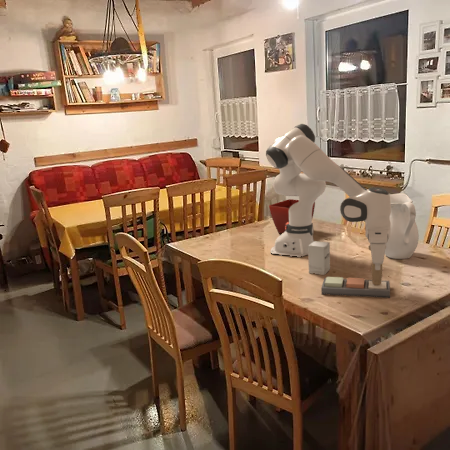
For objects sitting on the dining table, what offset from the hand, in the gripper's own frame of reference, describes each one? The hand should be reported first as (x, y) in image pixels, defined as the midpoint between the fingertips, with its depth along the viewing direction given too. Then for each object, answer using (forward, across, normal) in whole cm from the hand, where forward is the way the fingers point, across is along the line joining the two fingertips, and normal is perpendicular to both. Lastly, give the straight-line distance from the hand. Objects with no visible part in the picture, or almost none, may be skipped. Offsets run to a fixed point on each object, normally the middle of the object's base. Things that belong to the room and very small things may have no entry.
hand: (377, 267), depth 173 cm
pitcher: (+10, -40, +10) cm, 43 cm away
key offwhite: (+9, 0, 0) cm, 9 cm away
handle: (+7, 0, 0) cm, 7 cm away
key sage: (+8, 0, -16) cm, 18 cm away
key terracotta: (+8, 0, -8) cm, 11 cm away
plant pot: (+11, -80, -46) cm, 93 cm away
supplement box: (+10, -19, -24) cm, 32 cm away
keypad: (+10, 0, -8) cm, 13 cm away
